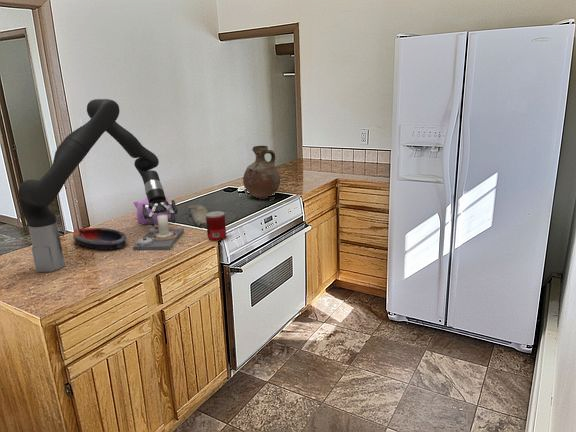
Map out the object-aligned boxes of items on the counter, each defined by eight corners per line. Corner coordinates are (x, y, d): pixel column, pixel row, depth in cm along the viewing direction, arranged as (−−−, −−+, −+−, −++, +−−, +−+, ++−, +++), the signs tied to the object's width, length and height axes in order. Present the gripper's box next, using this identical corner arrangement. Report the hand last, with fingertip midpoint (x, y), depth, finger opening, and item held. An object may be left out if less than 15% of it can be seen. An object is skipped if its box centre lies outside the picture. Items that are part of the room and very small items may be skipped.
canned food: (229, 237, 190) (228, 213, 187) (215, 242, 185) (213, 217, 182) (218, 233, 195) (217, 210, 192) (204, 238, 190) (202, 214, 187)
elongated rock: (194, 232, 203) (215, 230, 206) (194, 221, 202) (215, 220, 205) (186, 209, 235) (204, 208, 238) (185, 200, 233) (204, 199, 236)
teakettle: (140, 227, 208) (137, 202, 204) (134, 218, 222) (131, 195, 219) (176, 222, 215) (173, 197, 211) (168, 213, 230) (165, 191, 226)
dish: (105, 256, 174) (103, 244, 172) (64, 242, 191) (61, 232, 189) (137, 244, 186) (136, 233, 184) (96, 232, 203) (94, 222, 201)
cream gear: (171, 239, 185) (168, 218, 182) (152, 240, 185) (150, 218, 182) (176, 233, 192) (173, 213, 189) (158, 234, 192) (156, 213, 190)
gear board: (169, 249, 178) (168, 241, 177) (133, 250, 178) (132, 242, 177) (184, 231, 200) (183, 224, 199) (151, 232, 200) (150, 224, 199)
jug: (237, 197, 259) (233, 146, 250) (265, 191, 272) (263, 143, 263) (259, 204, 243) (256, 150, 234) (288, 197, 256) (286, 145, 248)
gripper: (138, 189, 186) (147, 222, 179) (171, 185, 192) (181, 216, 186) (137, 199, 192) (146, 231, 185) (170, 194, 198) (179, 225, 192)
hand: (163, 223), depth 186 cm, fingers open, 8 cm apart
